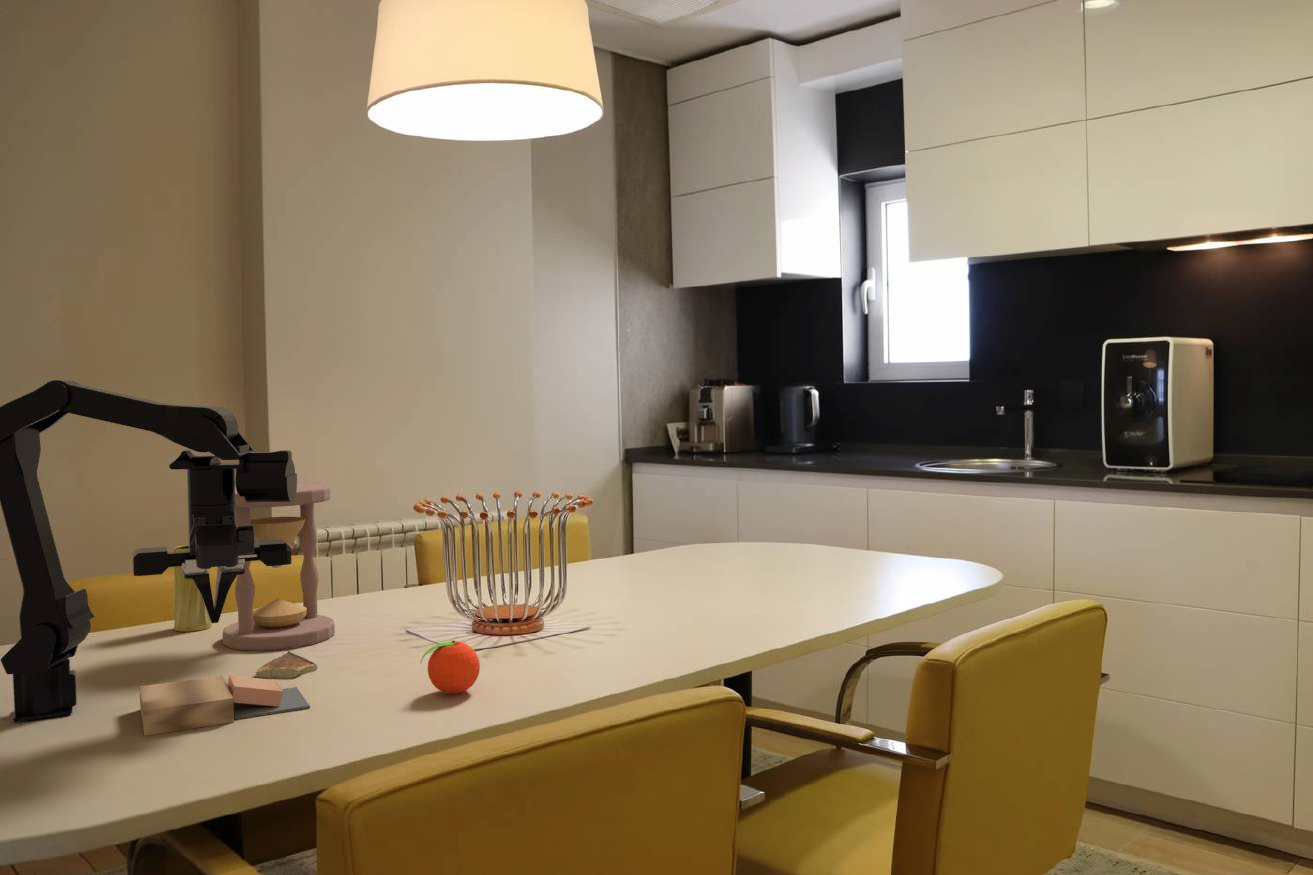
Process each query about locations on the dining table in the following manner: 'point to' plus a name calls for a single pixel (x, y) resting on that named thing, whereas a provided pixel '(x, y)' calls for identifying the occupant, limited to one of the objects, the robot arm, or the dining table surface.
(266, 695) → the pink square block
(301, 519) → the hourglass
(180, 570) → the vase
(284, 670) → the shard
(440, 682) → the clementine
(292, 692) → the mat
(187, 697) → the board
